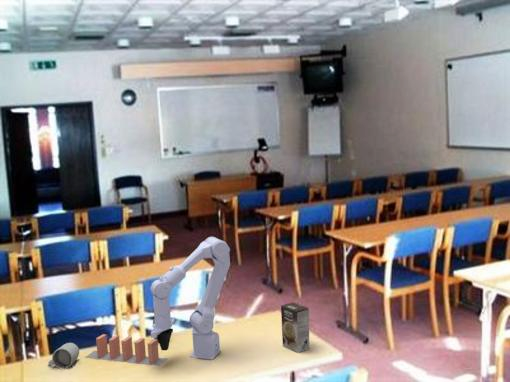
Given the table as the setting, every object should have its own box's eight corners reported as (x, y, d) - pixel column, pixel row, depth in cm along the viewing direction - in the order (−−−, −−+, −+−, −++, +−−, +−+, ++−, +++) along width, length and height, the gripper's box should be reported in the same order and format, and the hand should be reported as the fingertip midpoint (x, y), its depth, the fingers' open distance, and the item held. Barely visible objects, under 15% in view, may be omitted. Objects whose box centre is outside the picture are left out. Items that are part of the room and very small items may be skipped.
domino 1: (108, 353, 221) (106, 334, 220) (101, 358, 217) (99, 338, 216) (104, 352, 222) (102, 334, 221) (97, 357, 218) (96, 338, 217)
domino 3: (133, 356, 217) (131, 336, 217) (126, 360, 213) (125, 341, 212) (129, 355, 218) (127, 336, 217) (122, 360, 214) (121, 341, 213)
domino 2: (120, 354, 219) (118, 335, 218) (113, 359, 215) (112, 340, 214) (116, 354, 220) (115, 335, 219) (110, 359, 216) (108, 339, 215)
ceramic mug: (81, 359, 218) (79, 339, 217) (73, 369, 210) (70, 348, 209) (54, 360, 219) (52, 340, 218) (44, 369, 210) (42, 349, 210)
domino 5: (158, 358, 214) (157, 339, 213) (152, 363, 210) (151, 344, 209) (155, 358, 214) (153, 339, 213) (148, 363, 210) (147, 343, 209)
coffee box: (281, 346, 220) (280, 305, 218) (294, 341, 224) (293, 301, 222) (297, 353, 213) (295, 311, 211) (310, 348, 217) (309, 307, 215)
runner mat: (168, 359, 214) (167, 358, 214) (159, 366, 208) (159, 365, 208) (94, 351, 225) (94, 350, 225) (84, 358, 219) (84, 357, 219)
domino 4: (145, 357, 216) (144, 338, 215) (139, 362, 212) (138, 342, 211) (142, 357, 216) (140, 337, 215) (135, 361, 212) (134, 342, 211)
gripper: (162, 306, 216) (164, 341, 218) (142, 319, 202) (144, 356, 204) (179, 307, 214) (181, 342, 215) (159, 321, 200) (162, 358, 202)
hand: (164, 349), depth 210 cm, fingers closed
